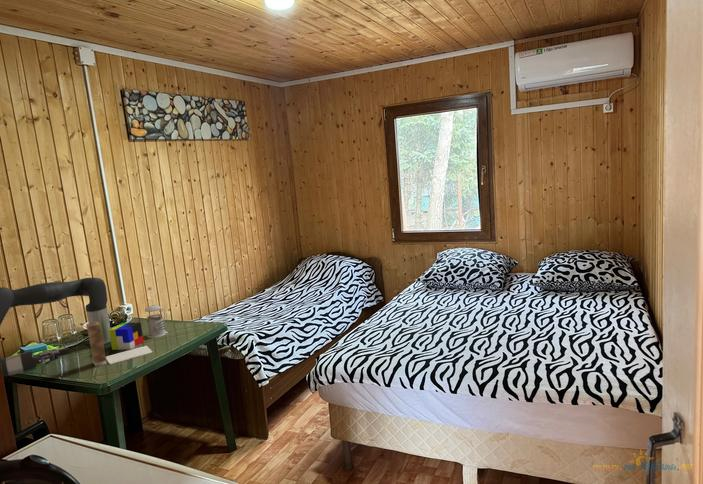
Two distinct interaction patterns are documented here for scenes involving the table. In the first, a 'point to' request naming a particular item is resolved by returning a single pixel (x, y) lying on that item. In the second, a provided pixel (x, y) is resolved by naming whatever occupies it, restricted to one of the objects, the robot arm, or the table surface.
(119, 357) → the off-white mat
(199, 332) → the table surface
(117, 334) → the puzzle toy
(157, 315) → the french press
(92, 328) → the walnut block
